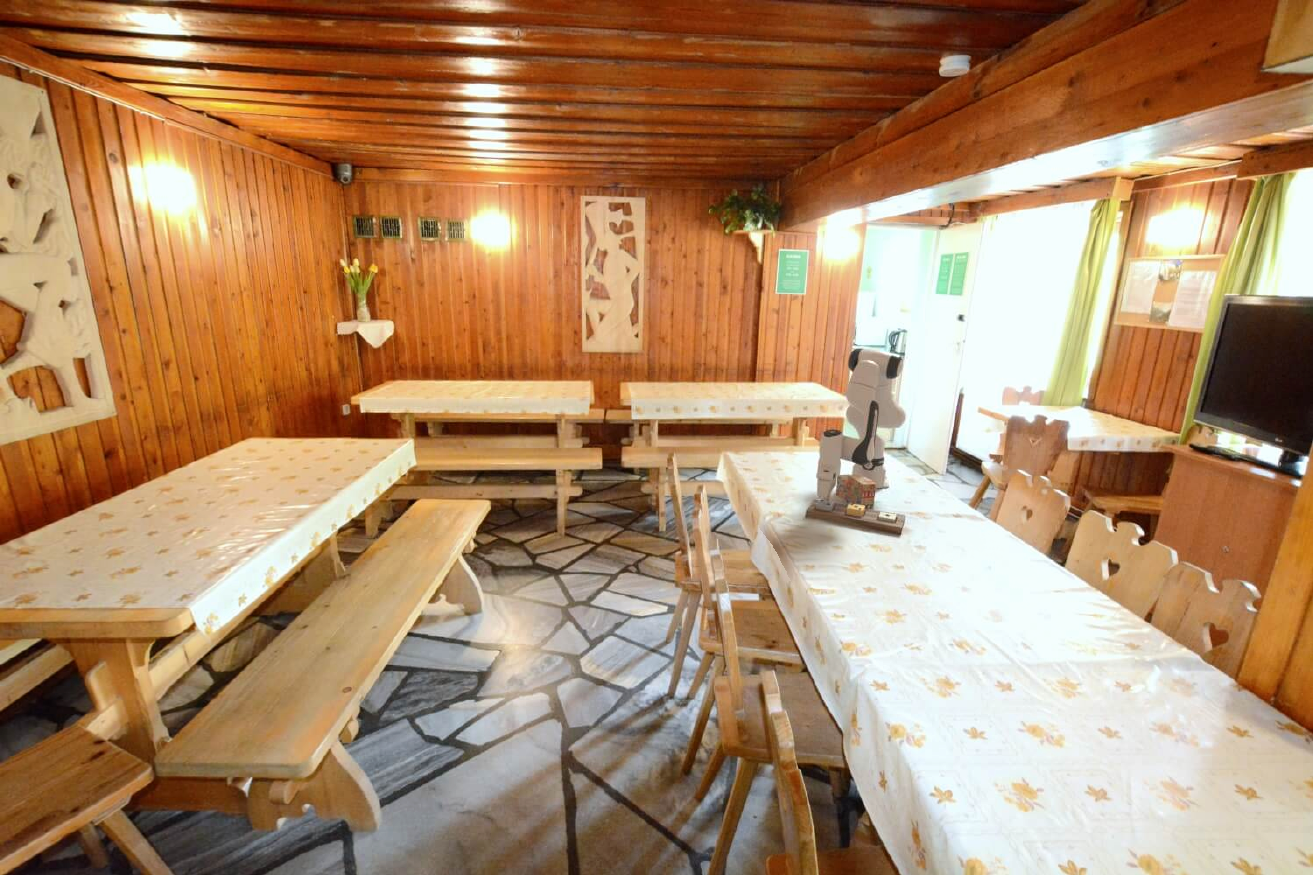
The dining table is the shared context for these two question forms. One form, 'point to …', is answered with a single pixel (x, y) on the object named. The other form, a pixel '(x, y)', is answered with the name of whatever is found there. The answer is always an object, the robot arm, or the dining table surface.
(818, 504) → the button two
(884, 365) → the robot arm
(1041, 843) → the dining table surface
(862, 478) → the stack of blocks
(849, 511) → the button three
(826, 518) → the console
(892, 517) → the button one
